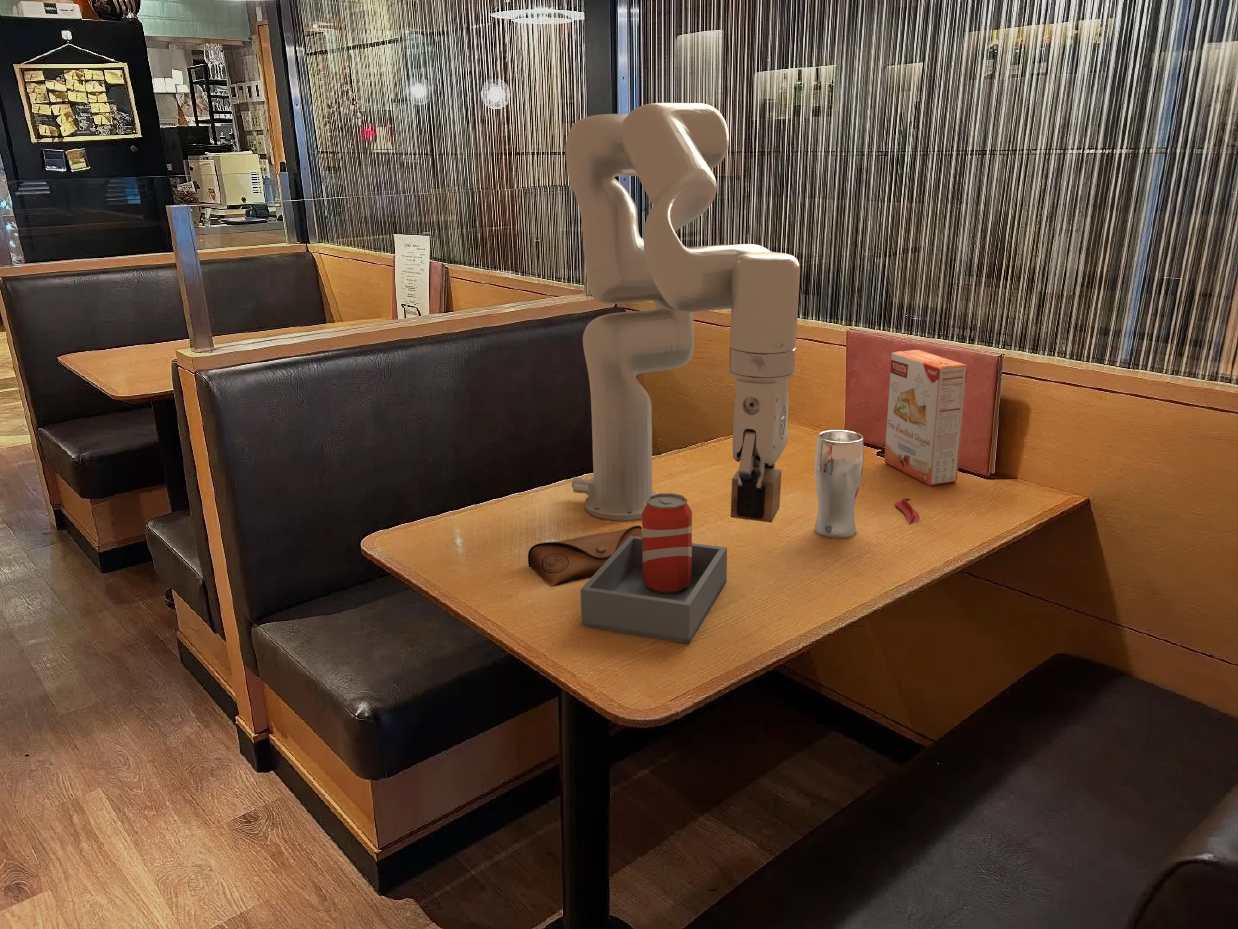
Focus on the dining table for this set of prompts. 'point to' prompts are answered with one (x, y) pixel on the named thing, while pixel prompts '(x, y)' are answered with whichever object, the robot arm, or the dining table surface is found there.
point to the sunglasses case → (576, 555)
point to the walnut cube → (771, 494)
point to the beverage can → (667, 543)
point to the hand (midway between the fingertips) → (755, 506)
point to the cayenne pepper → (907, 511)
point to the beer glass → (837, 481)
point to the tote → (652, 595)
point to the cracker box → (925, 416)
